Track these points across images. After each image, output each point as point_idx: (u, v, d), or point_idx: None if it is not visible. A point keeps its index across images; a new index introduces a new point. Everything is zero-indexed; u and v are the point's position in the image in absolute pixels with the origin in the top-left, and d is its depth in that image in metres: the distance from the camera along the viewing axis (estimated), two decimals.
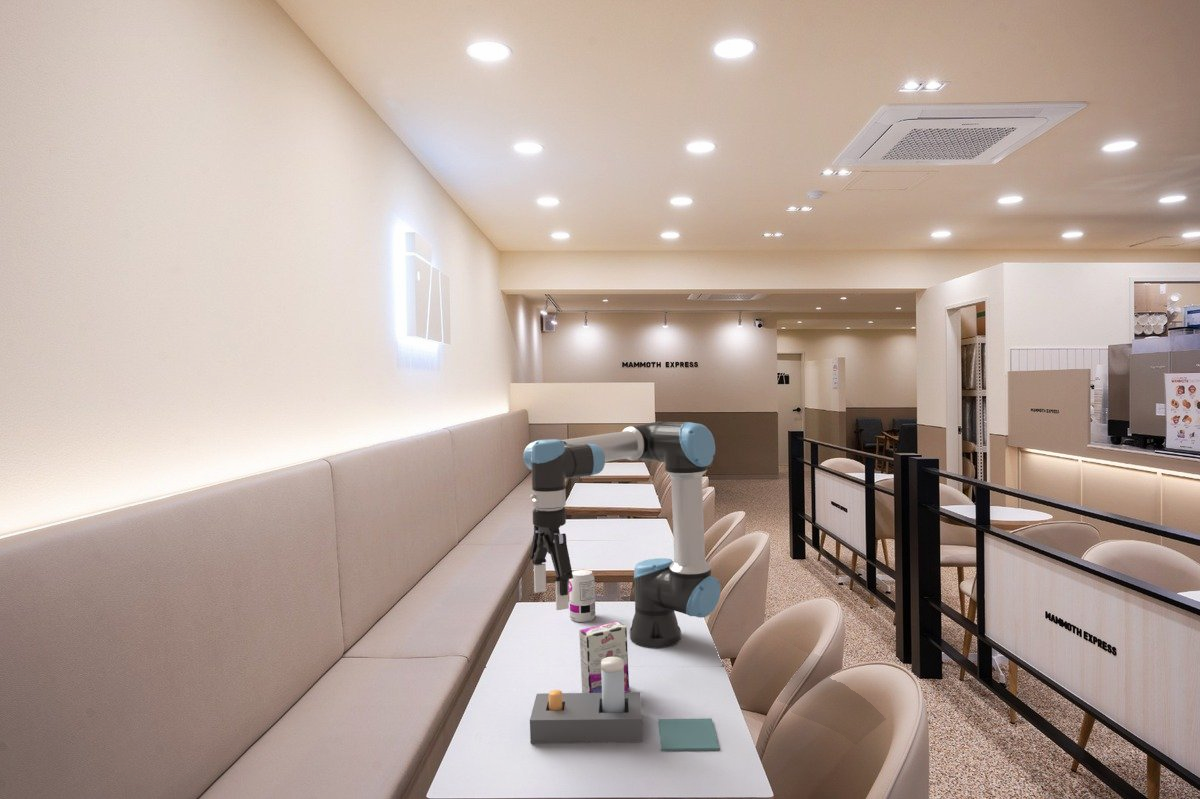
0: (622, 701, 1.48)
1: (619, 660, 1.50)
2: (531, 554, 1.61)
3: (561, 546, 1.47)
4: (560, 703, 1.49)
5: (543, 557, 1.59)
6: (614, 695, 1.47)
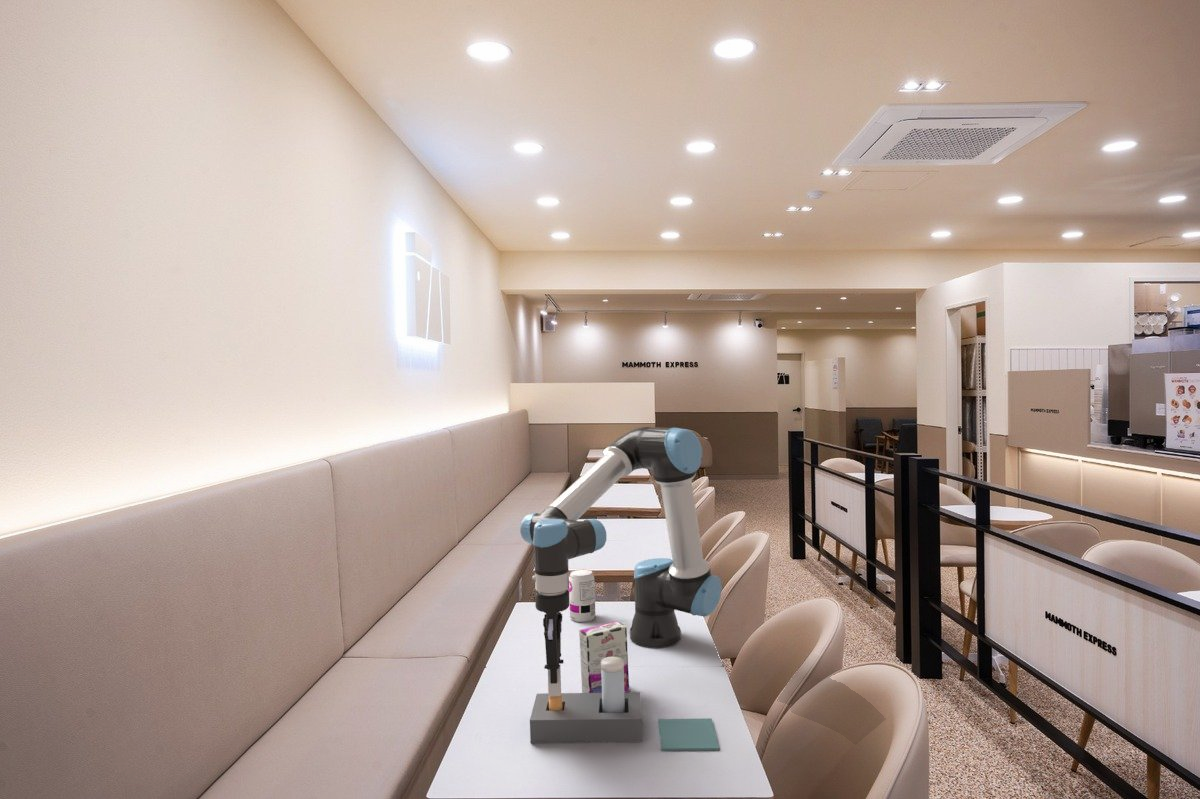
0: (622, 701, 1.48)
1: (619, 660, 1.50)
2: None
3: (550, 642, 1.44)
4: (560, 706, 1.49)
5: None
6: (614, 695, 1.47)
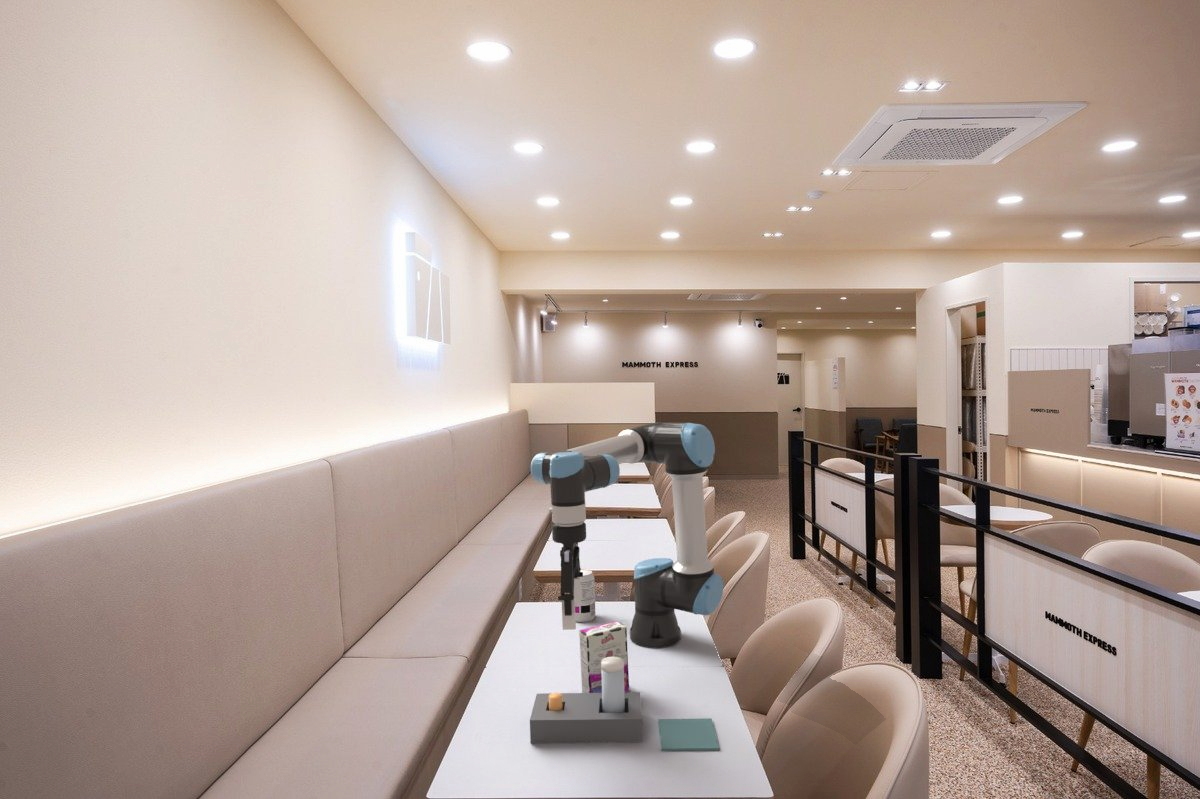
0: (622, 701, 1.48)
1: (619, 660, 1.50)
2: None
3: (566, 565, 1.42)
4: (560, 706, 1.49)
5: (576, 571, 1.55)
6: (614, 695, 1.47)
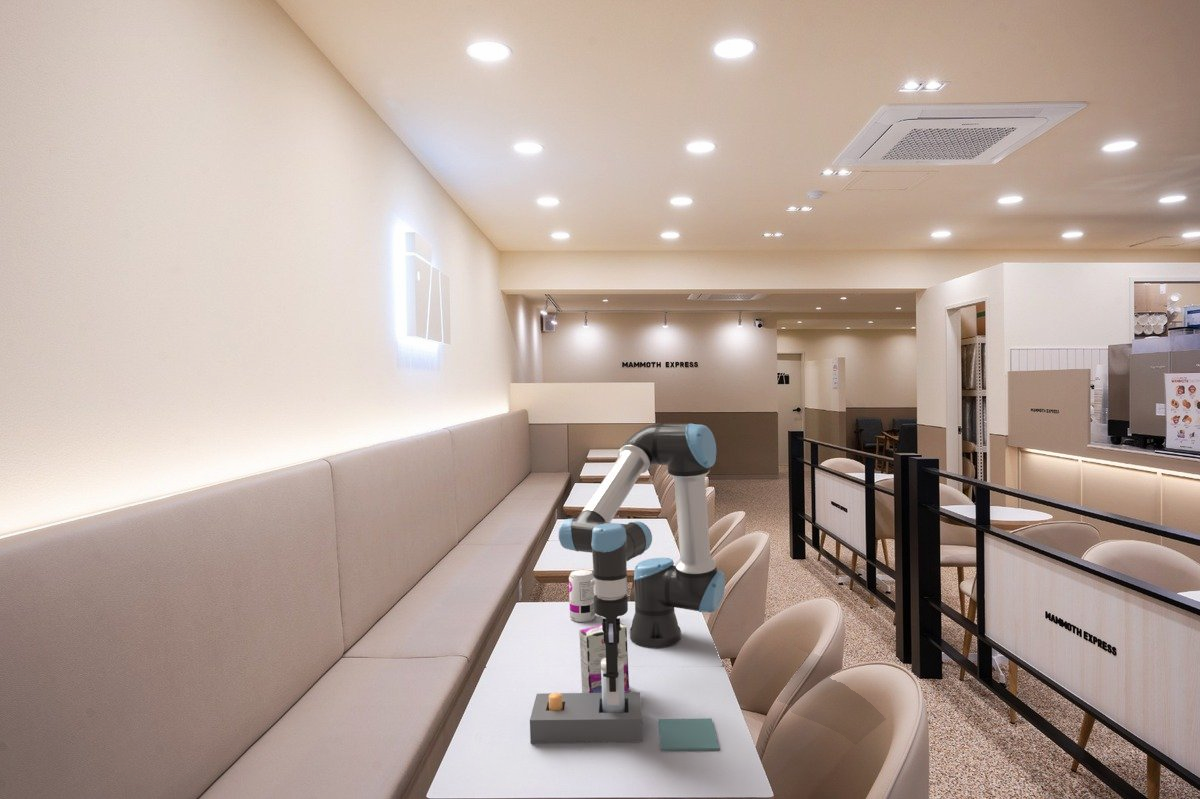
0: (622, 701, 1.48)
1: (618, 660, 1.50)
2: None
3: (610, 645, 1.43)
4: (560, 706, 1.49)
5: None
6: None
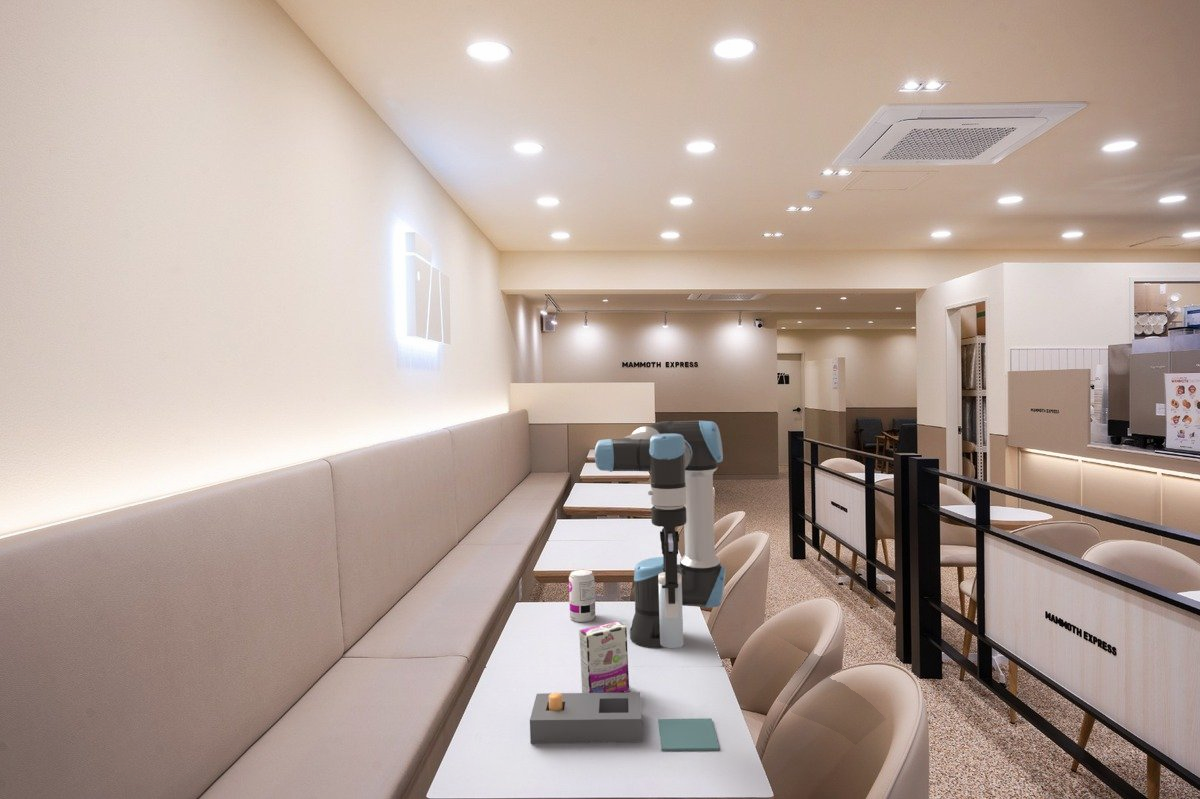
0: (680, 615, 1.44)
1: None
2: (663, 565, 1.51)
3: (670, 554, 1.39)
4: (560, 706, 1.49)
5: None
6: None
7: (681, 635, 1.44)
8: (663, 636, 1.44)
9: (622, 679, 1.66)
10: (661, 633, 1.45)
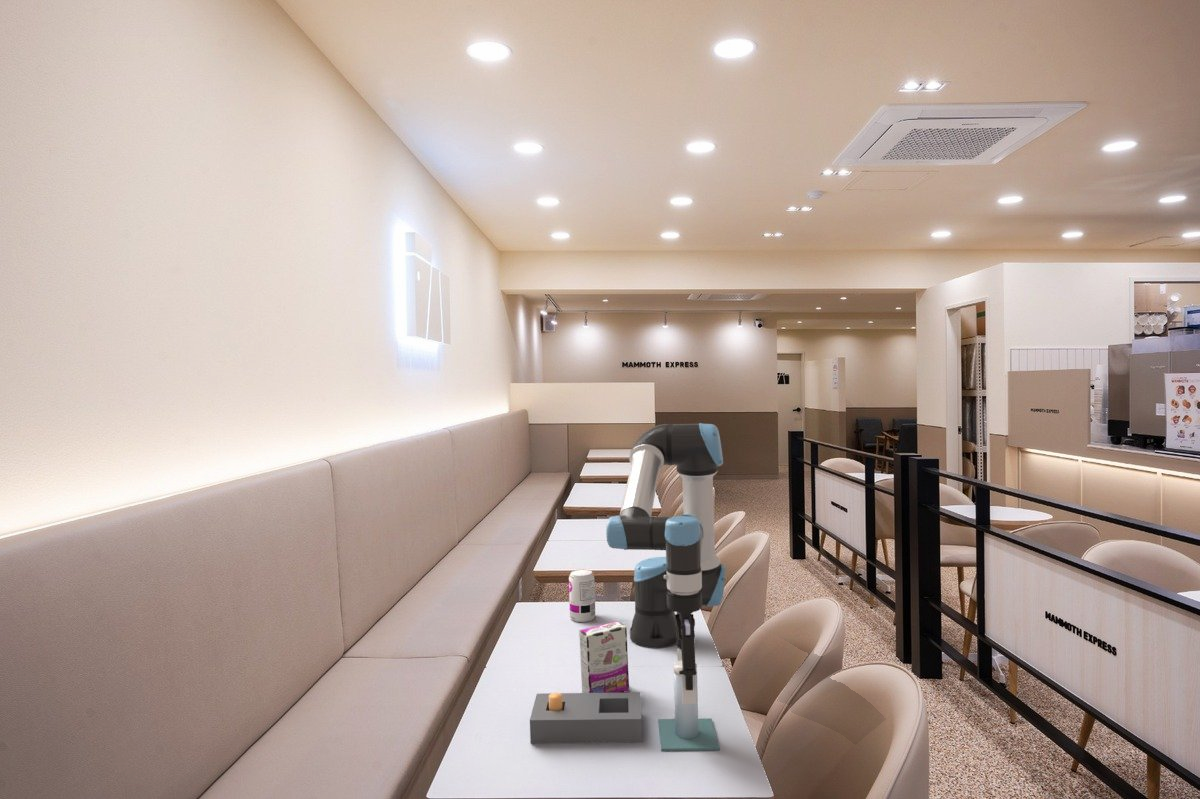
0: (696, 706, 1.44)
1: None
2: (676, 636, 1.53)
3: (687, 638, 1.38)
4: (560, 706, 1.49)
5: None
6: None
7: (696, 725, 1.45)
8: (678, 727, 1.44)
9: (622, 679, 1.66)
10: (677, 723, 1.45)
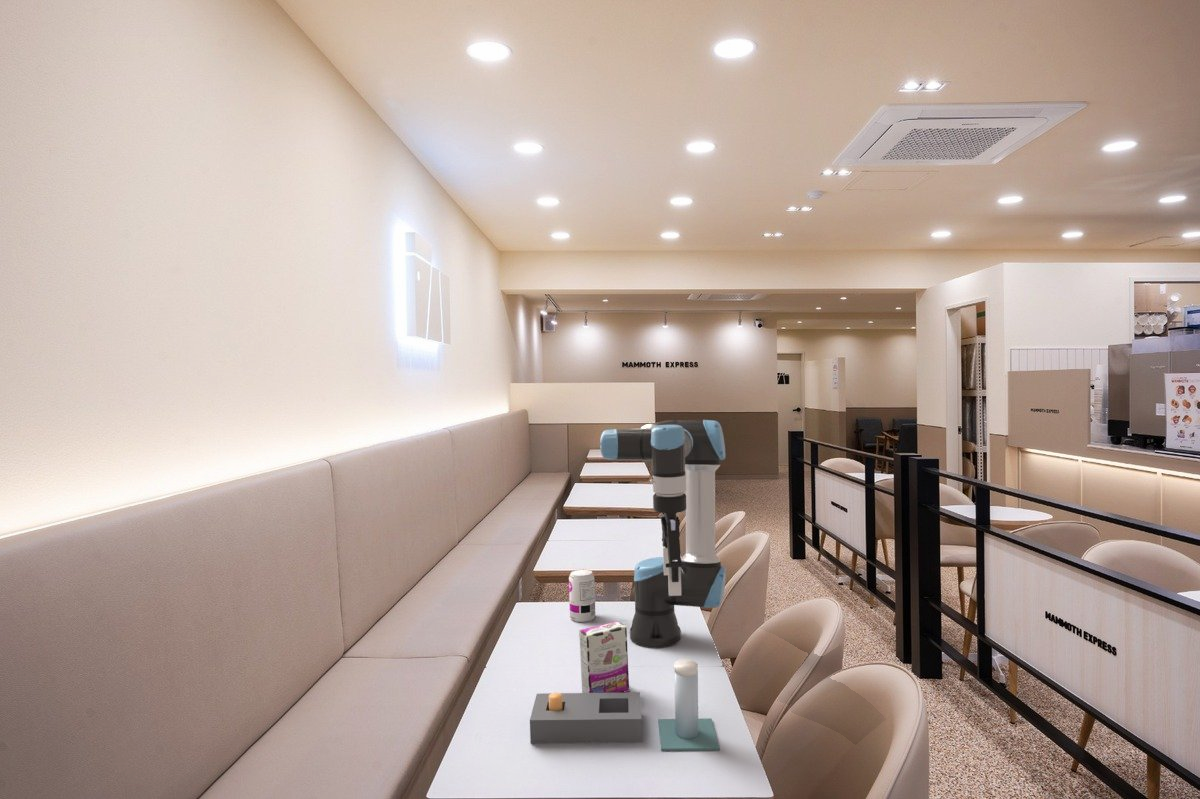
0: (696, 705, 1.44)
1: (692, 663, 1.46)
2: (662, 537, 1.63)
3: (672, 533, 1.46)
4: (560, 706, 1.49)
5: None
6: (688, 699, 1.43)
7: (697, 725, 1.45)
8: (678, 727, 1.44)
9: (622, 679, 1.66)
10: (677, 723, 1.45)
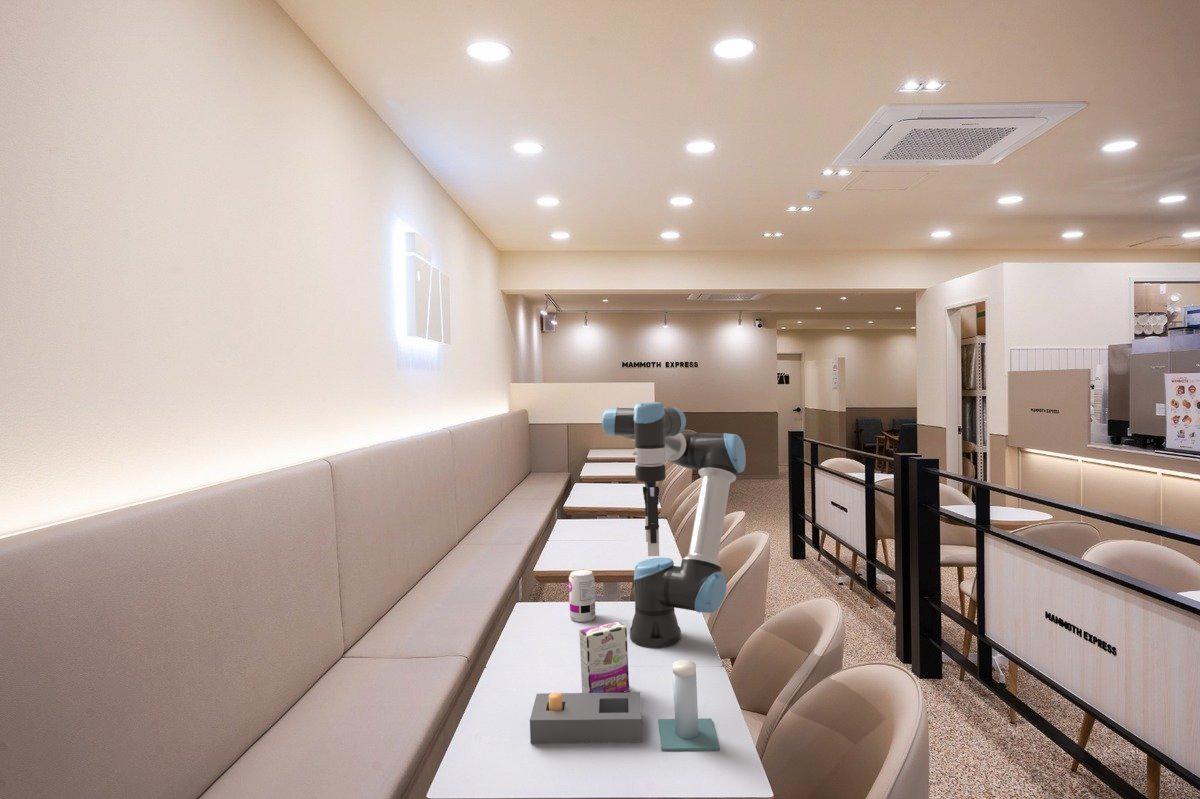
0: (695, 705, 1.44)
1: (690, 664, 1.46)
2: (645, 507, 1.78)
3: (651, 498, 1.61)
4: (560, 706, 1.49)
5: None
6: (687, 699, 1.43)
7: (696, 725, 1.45)
8: (678, 727, 1.44)
9: (622, 679, 1.66)
10: (676, 723, 1.45)
